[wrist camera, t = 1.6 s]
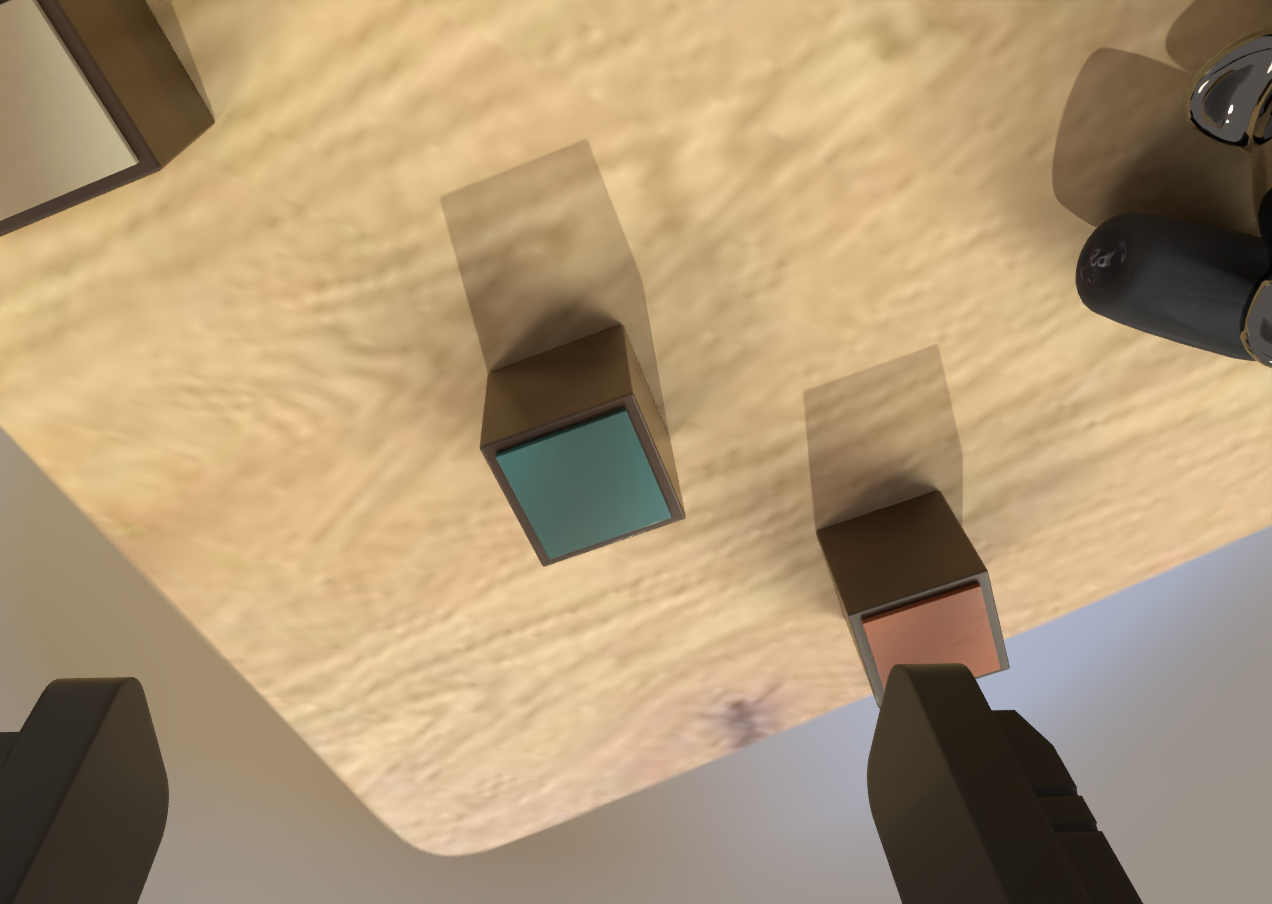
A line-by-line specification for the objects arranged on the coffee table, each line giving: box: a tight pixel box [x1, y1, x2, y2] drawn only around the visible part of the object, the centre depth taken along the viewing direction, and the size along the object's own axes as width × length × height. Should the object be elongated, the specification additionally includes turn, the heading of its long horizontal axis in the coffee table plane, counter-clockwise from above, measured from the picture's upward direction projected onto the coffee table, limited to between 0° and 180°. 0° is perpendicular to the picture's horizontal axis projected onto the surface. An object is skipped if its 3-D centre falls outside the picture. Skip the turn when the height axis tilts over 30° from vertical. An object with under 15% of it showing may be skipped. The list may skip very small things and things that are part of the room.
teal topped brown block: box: [480, 325, 685, 566], centre depth 30 cm, size 4×4×5 cm
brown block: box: [0, 0, 215, 237], centre depth 24 cm, size 4×4×5 cm
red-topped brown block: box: [816, 491, 1010, 708], centre depth 34 cm, size 4×4×5 cm
